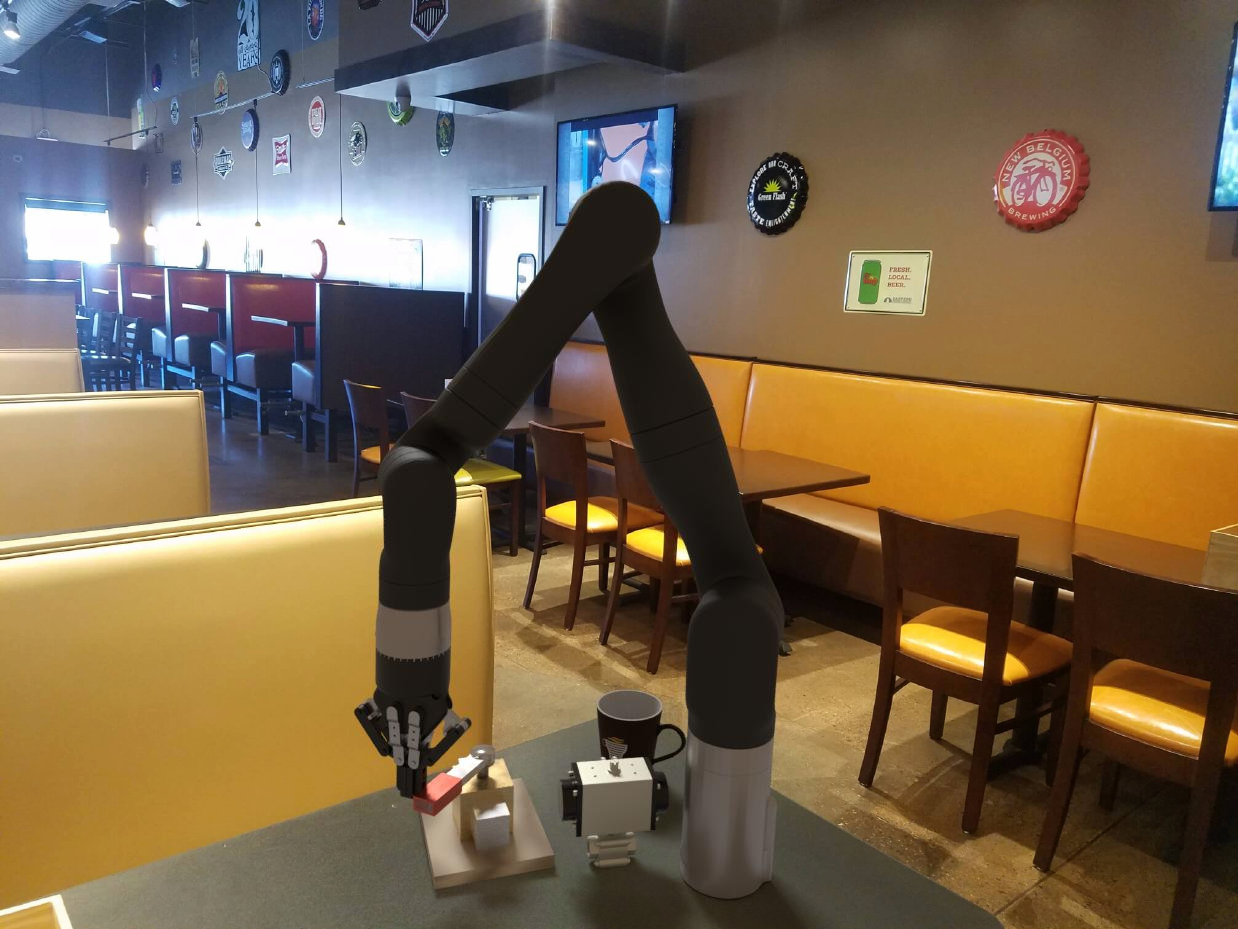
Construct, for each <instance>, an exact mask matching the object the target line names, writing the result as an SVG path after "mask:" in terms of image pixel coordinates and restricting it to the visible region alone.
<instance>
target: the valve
mask: <svg viewBox="0 0 1238 929" xmlns="http://www.w3.org/2000/svg"><path fill="white" fill-rule="evenodd" d="M465 758H466V757H460V758H457V764H456V765H452V766H451V770H452V769H453V768H454V767H456V766H457V765H458V764H459V763H460V762H462V761H463V760H464V759H465ZM511 779H512V777H511V775H510V773H509V770H508V768H507V765H506V763H505V760H504V758H499V759H497V758H495V763H494V765H492V766H491V767H488V768H484V769H482V770H481V771H480V772H479V773H478V774H476V775H475V776H474V777H473V778H472V779H471V780H469V781H468V782H467V783H466V784H465V785H464V786H463V787H462V793H461V794H460V795H458V796H457V797H456V798H455V799H454V800H453V801H452V813H453V817H454V820H455V824H456V828H457V832H458V835H459V839H460V843H461V842H467V841H473V840H474V843H475V846H476V850H477V853H478V856H479V858H480V857H486V856H492V855H497V854H503V853H506V845H508V844H509V840H510V834H513V814H514V785H513V782H512V780H511Z"/></svg>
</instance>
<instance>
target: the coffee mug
mask: <svg viewBox="0 0 1238 929" xmlns="http://www.w3.org/2000/svg"><path fill="white" fill-rule="evenodd" d="M663 705H664V704H663V703H662V701H661V700H660V698H658V697H657V696H656V695H654V694H652V693H649V692H646V691H642V690H636V689H617V690H612V691H608V692H606V693H604V694H602V695H601V696H599V697H598V699H597V700H596V715H597V716H596V717H597V727H598V738H599V746H600V747H599V748H600V758H602V757H604V758H605V759H606V760H611V758H612V757H614V756H615V757H617V759H627V758H641V757H648V758H649V760H650V762H651V764H652V767H653V768H654V765H655V764H658V763H661V762H663V761H667V760H669V759H673V758H674V757H676V756H678V755H679V754H680V753H682V751H683V750H684V749H685V747H686V746H687V737H686V734H685V733H684V731H683V730H682V729H681V728H680V727H679V726H677V725H676V724H672V723H663V724H661V718H662V714H663V708H664V706H663ZM667 729H668V730H673V731H674V732H676V734H677V735H678V736H679V737H680V740H681V743H680V747H678V749H676V750H675V751H673V752H671V753H670V752H669V753H668V754H665V755H661V756H659V757H656V758H655V755H656V750H657V742H658V736H659V735H660V734H661V732H662V731H664V730H667Z"/></svg>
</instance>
